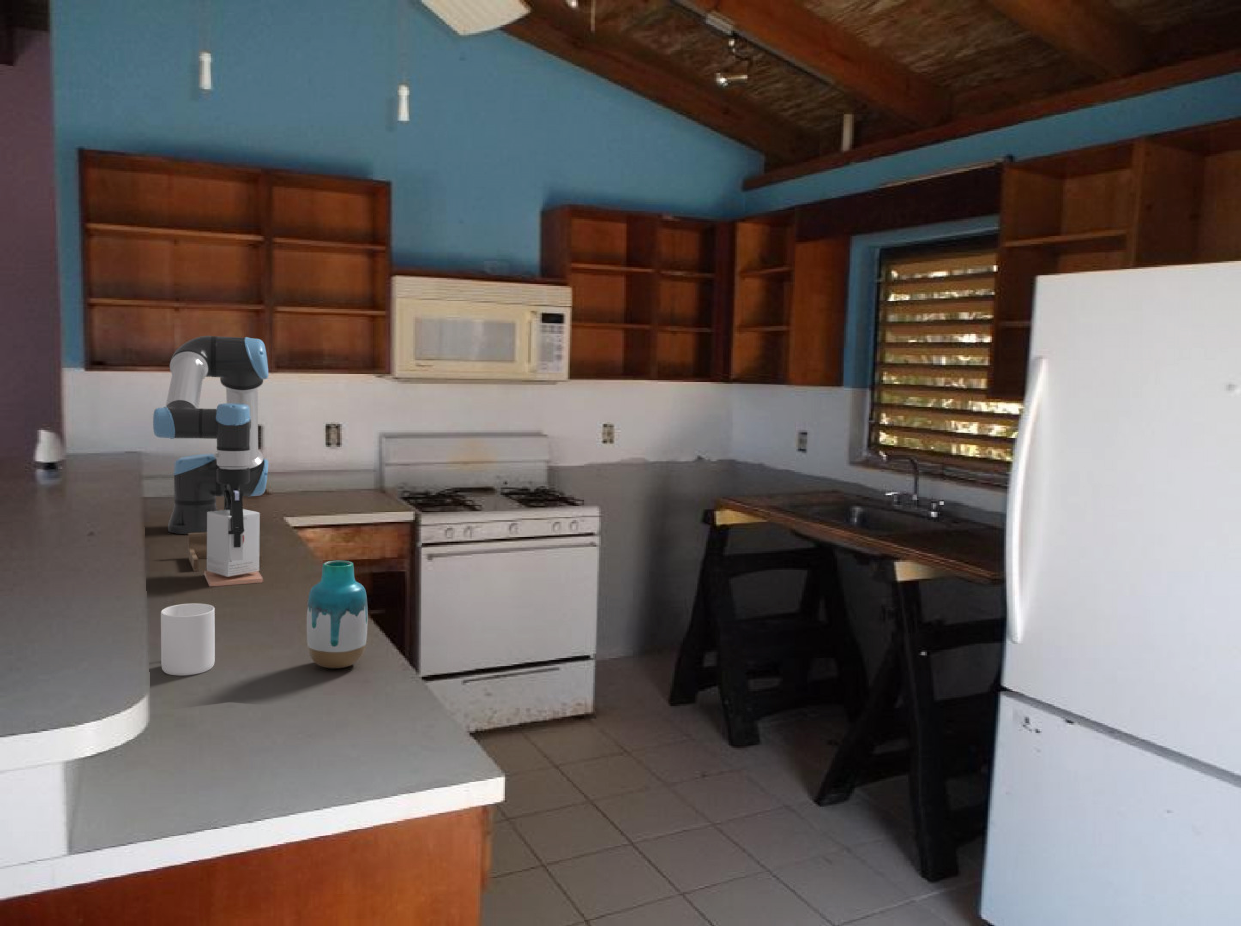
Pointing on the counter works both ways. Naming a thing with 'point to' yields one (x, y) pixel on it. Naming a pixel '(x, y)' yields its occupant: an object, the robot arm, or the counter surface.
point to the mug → (187, 639)
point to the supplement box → (221, 543)
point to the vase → (337, 617)
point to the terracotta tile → (232, 579)
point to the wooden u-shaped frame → (199, 548)
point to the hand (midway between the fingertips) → (233, 554)
